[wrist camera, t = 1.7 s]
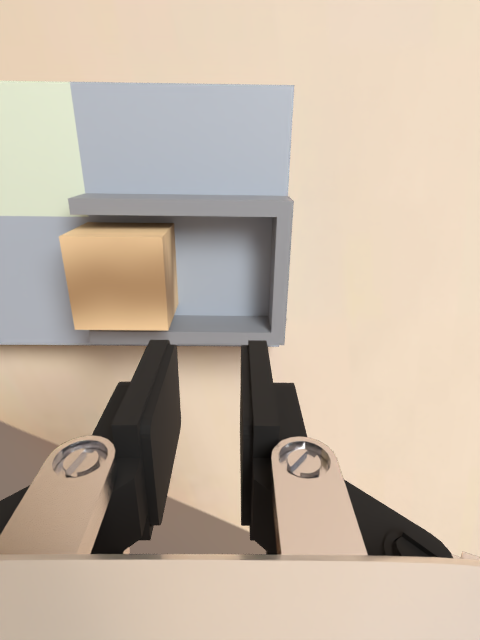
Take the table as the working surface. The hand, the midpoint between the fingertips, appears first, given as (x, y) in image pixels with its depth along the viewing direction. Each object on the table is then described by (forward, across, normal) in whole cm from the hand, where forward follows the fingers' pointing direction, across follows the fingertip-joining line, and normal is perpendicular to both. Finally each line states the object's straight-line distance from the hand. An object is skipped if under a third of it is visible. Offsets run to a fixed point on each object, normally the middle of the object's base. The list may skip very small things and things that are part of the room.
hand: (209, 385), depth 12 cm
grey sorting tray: (+15, +9, -2) cm, 18 cm away
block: (+13, +5, 0) cm, 14 cm away
